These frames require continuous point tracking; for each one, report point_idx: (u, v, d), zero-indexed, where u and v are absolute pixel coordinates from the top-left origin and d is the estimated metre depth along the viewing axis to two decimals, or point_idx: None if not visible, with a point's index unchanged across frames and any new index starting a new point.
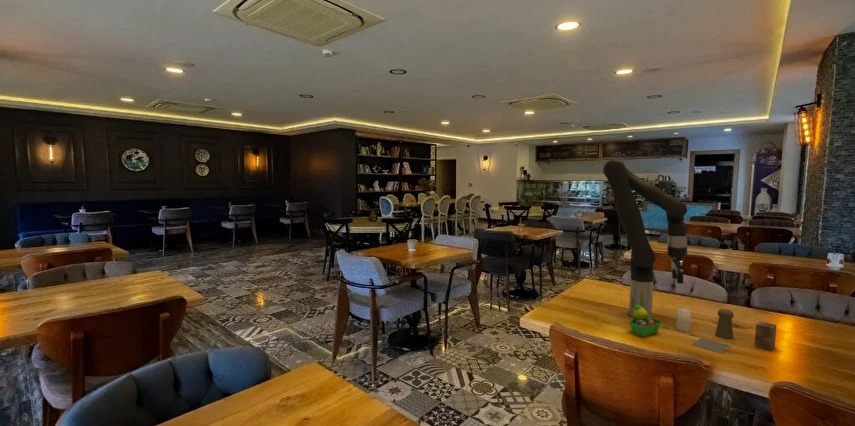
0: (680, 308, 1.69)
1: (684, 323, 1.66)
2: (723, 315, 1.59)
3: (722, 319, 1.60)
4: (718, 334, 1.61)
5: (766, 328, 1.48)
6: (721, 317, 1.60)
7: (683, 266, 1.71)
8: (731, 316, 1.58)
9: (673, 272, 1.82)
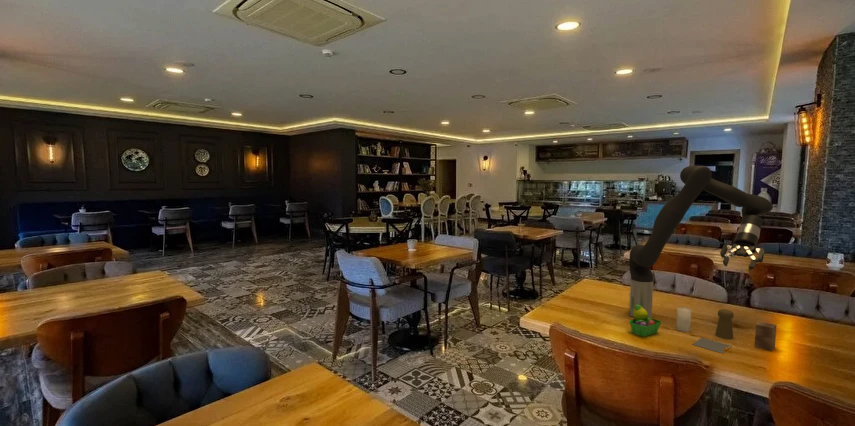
0: (680, 308, 1.69)
1: (684, 323, 1.66)
2: (723, 315, 1.59)
3: (722, 319, 1.60)
4: (718, 334, 1.61)
5: (766, 328, 1.48)
6: (721, 317, 1.60)
7: (763, 254, 1.64)
8: (731, 316, 1.58)
9: (727, 258, 1.70)
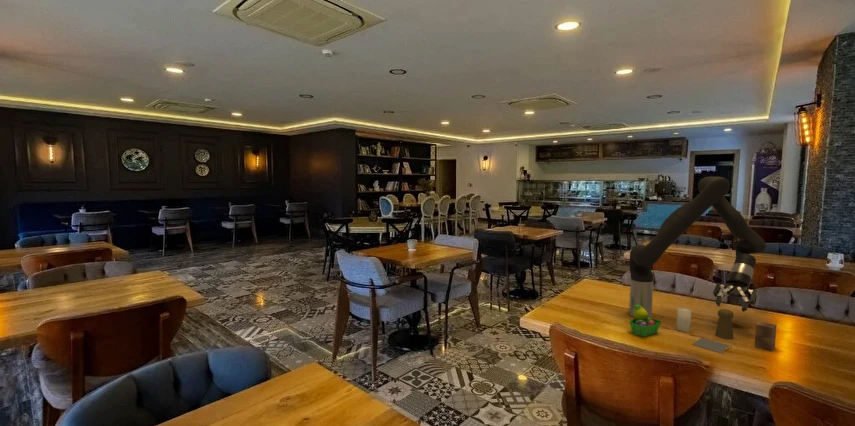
0: (680, 308, 1.69)
1: (684, 323, 1.66)
2: (723, 315, 1.59)
3: (722, 319, 1.60)
4: (718, 334, 1.61)
5: (766, 328, 1.48)
6: (721, 317, 1.60)
7: (756, 296, 1.62)
8: (731, 316, 1.58)
9: (720, 298, 1.68)
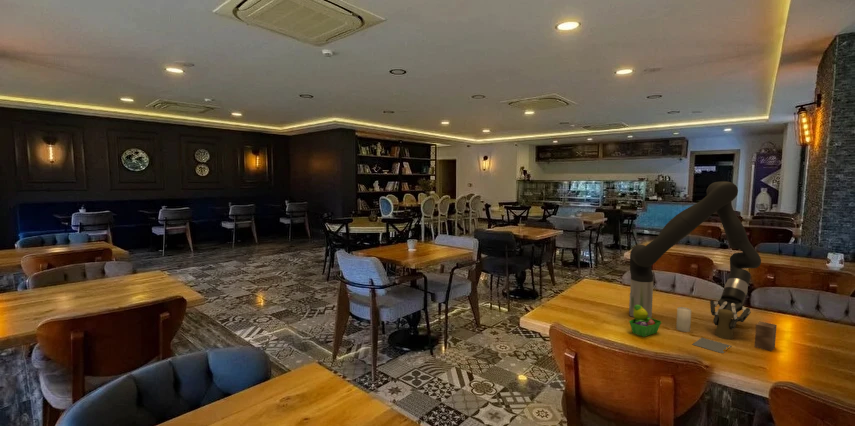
0: (680, 308, 1.69)
1: (684, 323, 1.66)
2: (723, 315, 1.59)
3: (722, 319, 1.60)
4: (718, 334, 1.61)
5: (766, 328, 1.48)
6: (721, 317, 1.60)
7: (747, 315, 1.58)
8: (731, 316, 1.58)
9: (718, 317, 1.63)
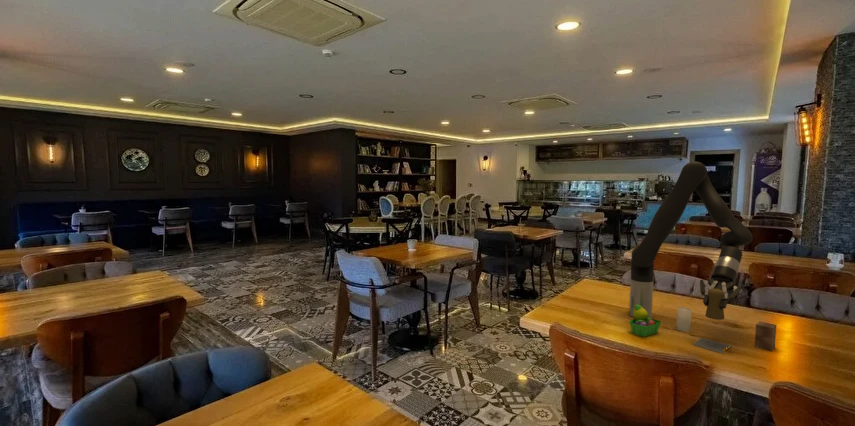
0: (680, 308, 1.69)
1: (684, 323, 1.66)
2: (713, 295, 1.50)
3: (712, 299, 1.51)
4: (708, 315, 1.52)
5: (766, 328, 1.48)
6: (711, 297, 1.51)
7: (739, 294, 1.49)
8: (722, 295, 1.49)
9: (708, 297, 1.53)
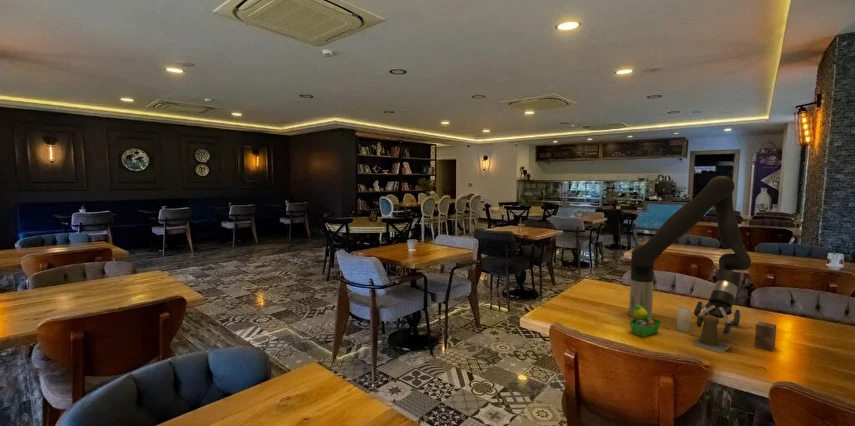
0: (680, 308, 1.69)
1: (684, 323, 1.66)
2: (708, 321, 1.53)
3: (707, 325, 1.54)
4: (702, 340, 1.55)
5: (766, 328, 1.48)
6: (706, 323, 1.54)
7: (739, 317, 1.50)
8: (716, 322, 1.52)
9: (701, 319, 1.56)
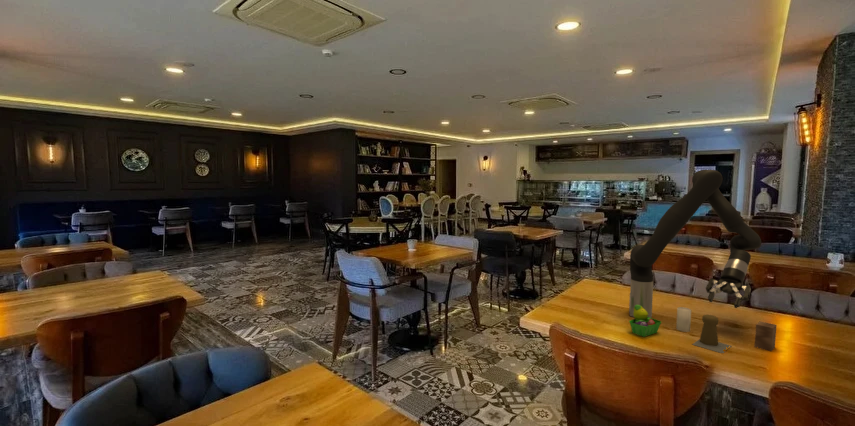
0: (680, 308, 1.69)
1: (684, 323, 1.66)
2: (707, 321, 1.53)
3: (706, 325, 1.54)
4: (702, 341, 1.55)
5: (766, 328, 1.48)
6: (705, 323, 1.54)
7: (749, 293, 1.58)
8: (716, 322, 1.52)
9: (713, 294, 1.64)
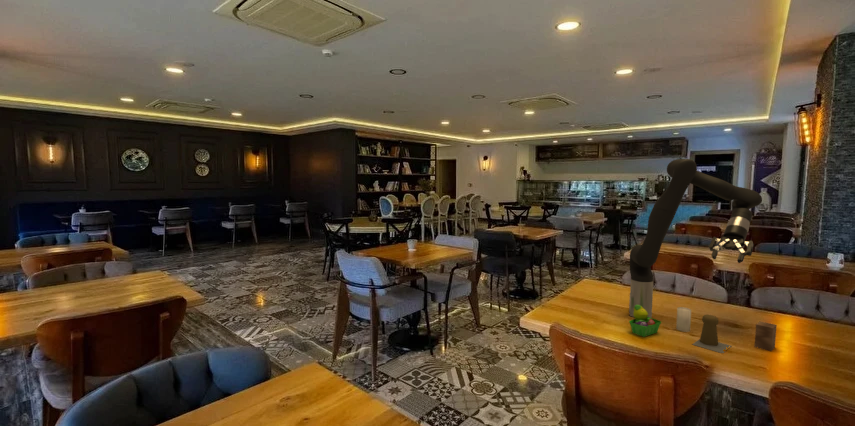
0: (680, 308, 1.69)
1: (684, 323, 1.66)
2: (707, 321, 1.53)
3: (706, 325, 1.54)
4: (702, 341, 1.55)
5: (766, 328, 1.48)
6: (705, 323, 1.54)
7: (752, 248, 1.61)
8: (716, 322, 1.52)
9: (716, 251, 1.67)
